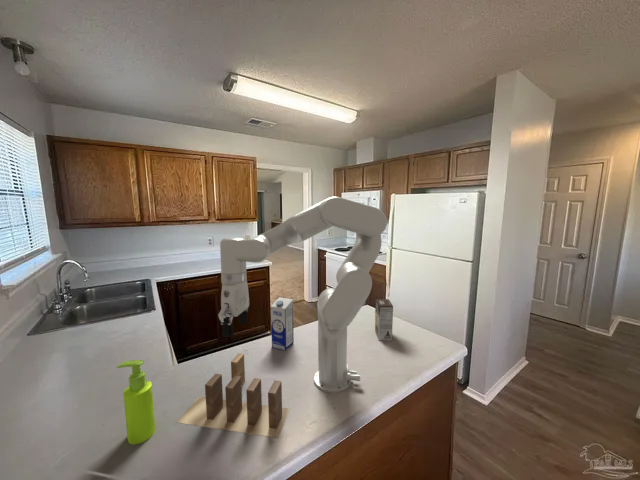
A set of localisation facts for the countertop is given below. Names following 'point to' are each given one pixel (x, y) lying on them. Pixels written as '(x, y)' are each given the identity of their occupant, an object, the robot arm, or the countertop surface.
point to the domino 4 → (254, 401)
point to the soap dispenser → (138, 404)
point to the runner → (199, 418)
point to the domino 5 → (275, 404)
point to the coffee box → (383, 319)
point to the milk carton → (282, 323)
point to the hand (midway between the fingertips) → (235, 329)
